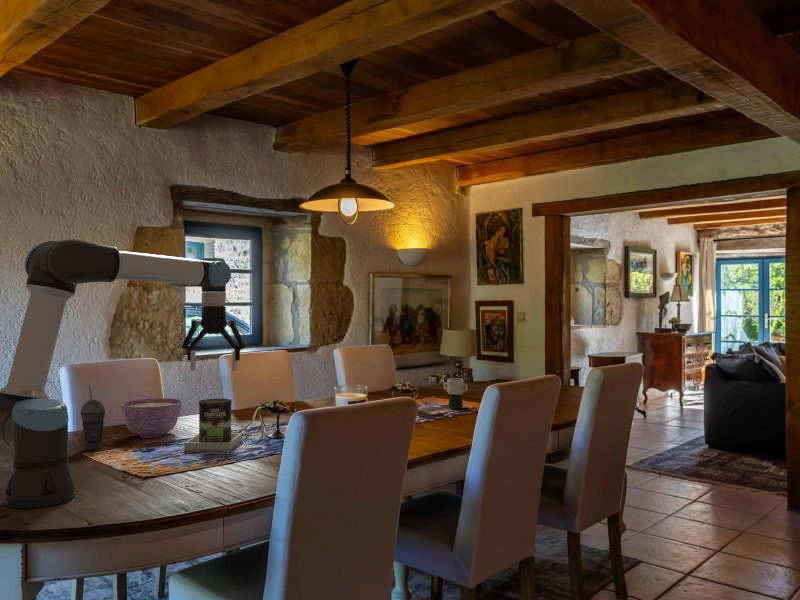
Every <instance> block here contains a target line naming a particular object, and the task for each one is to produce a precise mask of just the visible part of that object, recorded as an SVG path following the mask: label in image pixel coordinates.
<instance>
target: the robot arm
mask: <svg viewBox="0 0 800 600" xmlns="http://www.w3.org/2000/svg"><path fill="white" fill-rule="evenodd" d="M24 269H25V273H26V274H27V279H26V282H25V288H26V289H27V290H28V292H29V299H28V302H27V307H26V310H25V313H24V317H23V321H22V325H21V328H20V333H19V336H18V341H17V344H16V348H15V351H14V355H13V360H12V364H11V368H10V372H9V376H8V379H7V382H6V385H5V386H3V387H1V388H0V446H1V447H4V448H8V449H12V471H11V474H10V476H9V480H8V484H7V485H6V488H5V491H4V495H3V499H4V500H3V501H4V502H3V503H4V504H3V505H4V506H5V507H7V508H13V509H35V508H37V509H38V508H44V507H45V508H46V507H51V506H54V505H57V504H58V505H59V504H62V503H64V502H68V501H70V500H72V499H74V498H75V497H76V495H77V488H76V486H77V485H76V482H75V479H74V478H73V474H72V471H71V469H70V466H69V457H68V456H69V449H68V448H69V414H68V407H67V404H65V403H64V402H63V401H60V400H57V399H53V398H50V397H49V395H48V394H47V392H46V391H45V388H46V384H47V379H48V376H49V372H50V368H51V364H52V359H53V356H54V352H55V349H56V345H57V344H56V343H57V341H58V336H59V332H60V328H61V324H62V320H63V316H64V312H65V308H66V303H67V302H68V300H70V299H72V298H73V297H75V293H76V289H77V286H78V285H81V284H89V283H114V282H115V281H116V280H123V281H124V280H125V281H138V282H151V283H164V284H169V285H170V286H172V287H179V288H181V287H183V288H186V287H187V288H192V287H194V288H195V287H199V288H201V304H202V305H203V306H201V320H197V319H194V320H191V323H190V324H191V325H190V329H189V331H188V333H187V335H186V336H185V339H184V341H183V342H182V344H181V349H183V350H186V351H187V361H189V362H190V363H189V364H190V365H189V366H190V372H194V371H196V370H197V369H196V364H197V363H196V359H197V358H196V357H197V355H196V354H197V353H196V350H194V349H195V348H196V346H198V344H199V343H200V341H201V340H203V338H204V337H205V336H206V335H207V334H208V335H219V334H220V336H223V337H224V339H225V340H226V341H227V343H228V344H229V345H230V346H231V347H232V348H233V349H234V350H232V354H231V355H232V356H231V357H232V358H231V361H232V364H231V365H232V366H231V367H232V372H236V371H238V361H240V359H241V350H244V349H246V344H245V342H244V340H243V337H242V336H241V333H240V331H239V329H238V328H237V322H236V320H235V319H231V320H227V319H226V318H227V313H226V312H227V311H226V309H227V308H226V306H225V305H226V303H227V302H226V301H227V292H226V291H227V289H226V288H227V287H226V285H228V283H229V282H230V280H231V277H232V270H231V268H230V266H229V265H228V263H227V262H226V260H225V259H224V258H222V257H203V258H202V259H201V260H200V259H193V258H184V257H177V256H167V255H161V254H159V255H158V254H151V253H142V252H141V253H140V252H132V251H123V250H119V249H118V248H117V247H116V246H114V245H113V246H112V245H105V244H102V243H96V242H89V241H86V240H79V239H64V240H49V241H45V242H42V243H40V244H38V245H35V246H34V247H32V248H31V250H30V251H28V253H27V255H26V257H25V260H24ZM200 326H201V328H202V330H200V332H199V333H198V335H197V336H196V337H195V338H194V339H193V337H194V335H195V333H196V331H197V328H199V327H200ZM227 326H228V327H229V328H230V329H231V332H232V334H233V336H234V338H235V339H233V337H232V336H231V335H230V334H229V332H228V331H227V329H226V327H227ZM192 339H193V341H192ZM235 340H236V341H235ZM191 341H192V342H191Z"/></svg>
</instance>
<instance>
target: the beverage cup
mask: <svg viewBox="0 0 800 600" xmlns="http://www.w3.org/2000/svg"><path fill="white" fill-rule="evenodd" d="M91 386H92V385H89V386H88V390H89V399H90V400H88V401H85V403H83V405H82V407H81V409H80V410H81V411H80V417H81V420H82V430H83V441H84V449H85V450H86V449H88V450H87V451H93V450H92V449H96V450H99V449H98V448H100V449H101V448H102V441H103V431H104V419H105V416H106V408H105V405H104V403H102V402H101V401H100V400H98V399H93V396H92V395H93V394H92V389H91V388H92V387H91ZM89 449H90V450H89Z"/></svg>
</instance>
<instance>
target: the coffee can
mask: <svg viewBox="0 0 800 600" xmlns="http://www.w3.org/2000/svg"><path fill="white" fill-rule="evenodd" d="M198 405H199V406H198V409H199V410H198V411H199V413H198V421H199V422H198V423H199V424H198V432H199V433H198V434H199V442H229V441H231V433H232V399H229V398H207V399H201V400H199V401H198Z"/></svg>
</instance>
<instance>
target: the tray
mask: <svg viewBox="0 0 800 600" xmlns="http://www.w3.org/2000/svg"><path fill="white" fill-rule="evenodd" d="M242 442H243V433H241V432H240V433H239V432H238V433H236V432H235V433H234V432H233V433H232V432H231V441H229V442H199V433H197V434H196V435H194V436H193V437H191V438H190V439H188V440H186V441H185V442H183V443H184V444H183V451H184V452H186V453H187V452H191V453H194V452H195V453H205V452H206V453H214V452H213V451H229V452H228V453H231V452H232V451H233V450H234V449H235V448H236V447H237V445H238V444H239V443H240V444H241V443H242ZM240 444H239V445H240ZM239 445H238V446H239ZM232 449H233V450H232ZM231 450H232V451H231ZM203 451H205V452H203ZM230 451H231V452H230Z"/></svg>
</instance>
